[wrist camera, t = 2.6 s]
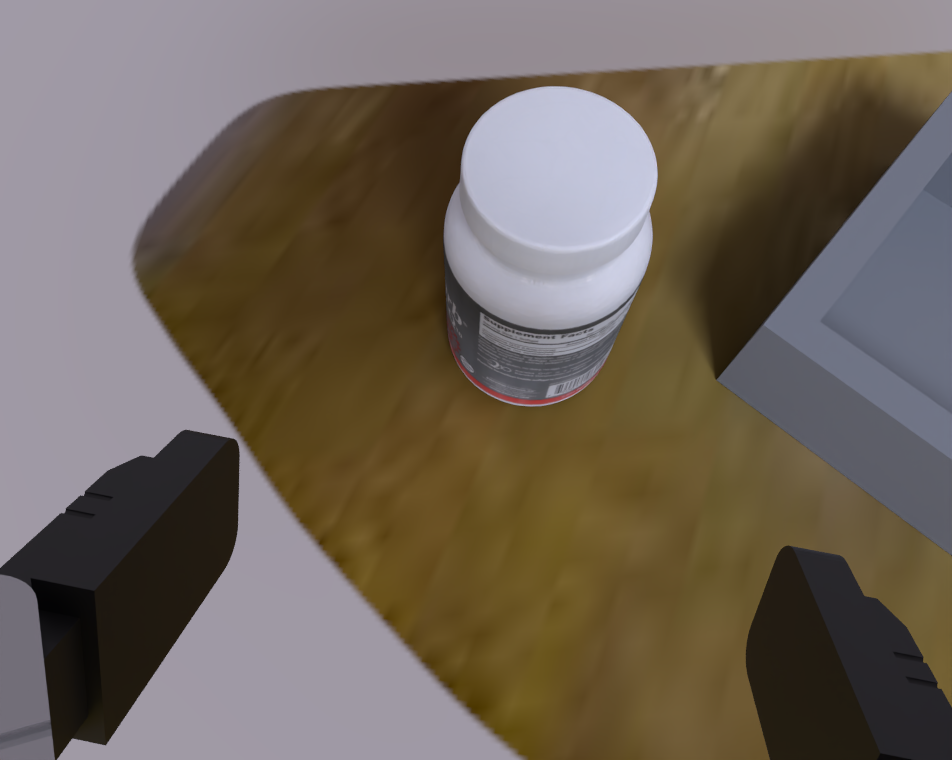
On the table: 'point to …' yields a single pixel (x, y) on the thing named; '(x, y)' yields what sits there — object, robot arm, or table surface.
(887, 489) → the bin
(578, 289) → the pill bottle
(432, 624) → the table surface
